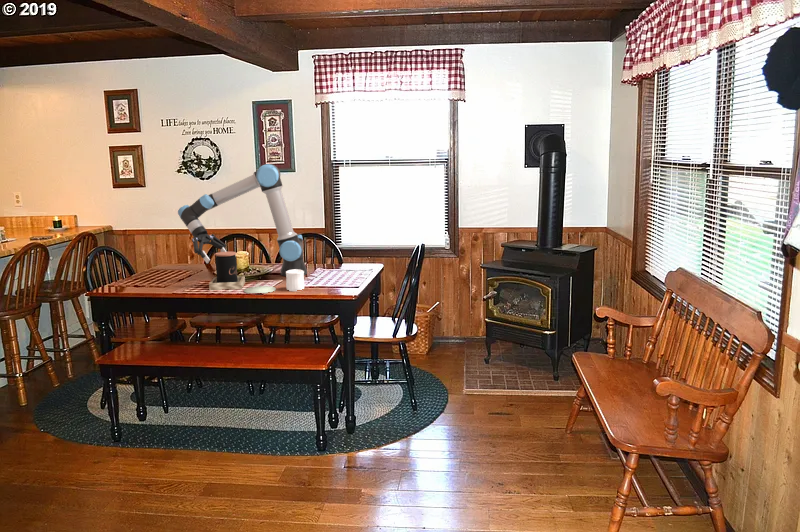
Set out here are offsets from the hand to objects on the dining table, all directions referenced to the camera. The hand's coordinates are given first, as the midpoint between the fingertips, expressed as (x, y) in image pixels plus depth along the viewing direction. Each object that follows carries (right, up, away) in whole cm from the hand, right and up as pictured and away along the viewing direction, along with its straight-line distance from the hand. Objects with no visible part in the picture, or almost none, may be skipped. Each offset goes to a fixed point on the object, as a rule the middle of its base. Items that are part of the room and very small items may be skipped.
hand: (218, 259), depth 349 cm
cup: (+42, -16, -10) cm, 46 cm away
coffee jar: (+5, -14, +1) cm, 15 cm away
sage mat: (+24, -16, -11) cm, 31 cm away
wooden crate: (+5, -14, +1) cm, 15 cm away
